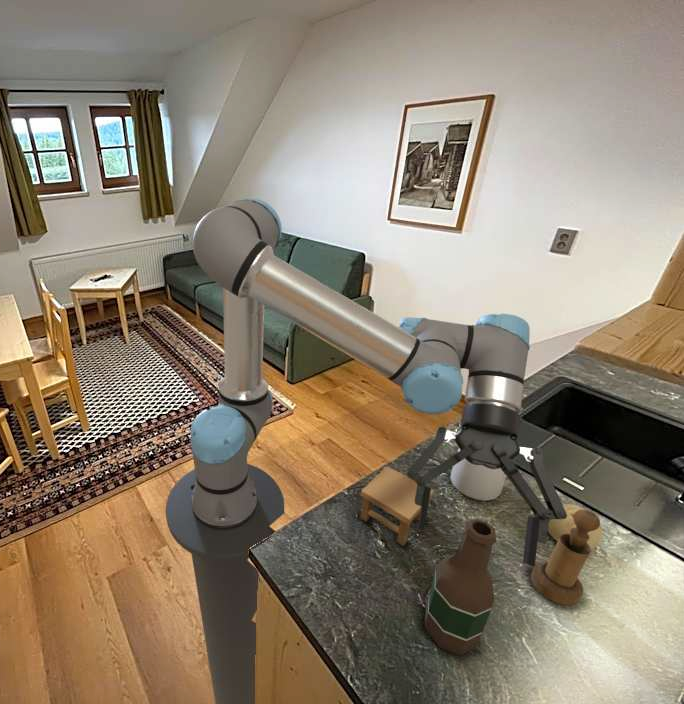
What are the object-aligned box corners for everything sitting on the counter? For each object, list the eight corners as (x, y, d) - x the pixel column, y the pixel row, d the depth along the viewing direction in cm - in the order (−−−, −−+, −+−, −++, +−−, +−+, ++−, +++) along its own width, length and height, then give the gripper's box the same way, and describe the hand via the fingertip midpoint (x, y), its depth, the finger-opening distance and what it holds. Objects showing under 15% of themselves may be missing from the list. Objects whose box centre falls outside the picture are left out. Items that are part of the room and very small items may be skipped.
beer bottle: (413, 628, 65) (439, 527, 54) (435, 596, 69) (462, 496, 59) (465, 669, 60) (505, 565, 49) (485, 631, 64) (526, 528, 53)
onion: (609, 560, 72) (603, 539, 69) (553, 554, 77) (544, 534, 74) (600, 519, 77) (593, 498, 74) (547, 515, 82) (538, 496, 79)
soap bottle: (491, 510, 84) (520, 423, 74) (442, 486, 91) (462, 403, 80) (506, 485, 89) (535, 400, 79) (458, 464, 96) (479, 383, 86)
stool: (358, 518, 85) (361, 490, 81) (382, 492, 90) (386, 465, 87) (404, 548, 78) (409, 519, 74) (427, 518, 83) (434, 490, 80)
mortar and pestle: (572, 577, 70) (610, 504, 62) (584, 612, 65) (627, 537, 57) (526, 564, 73) (556, 492, 65) (534, 597, 68) (568, 523, 60)
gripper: (583, 431, 61) (571, 577, 57) (405, 397, 73) (383, 515, 68) (604, 423, 55) (592, 586, 50) (406, 387, 67) (381, 517, 62)
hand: (471, 546), depth 59 cm, fingers open, 13 cm apart
